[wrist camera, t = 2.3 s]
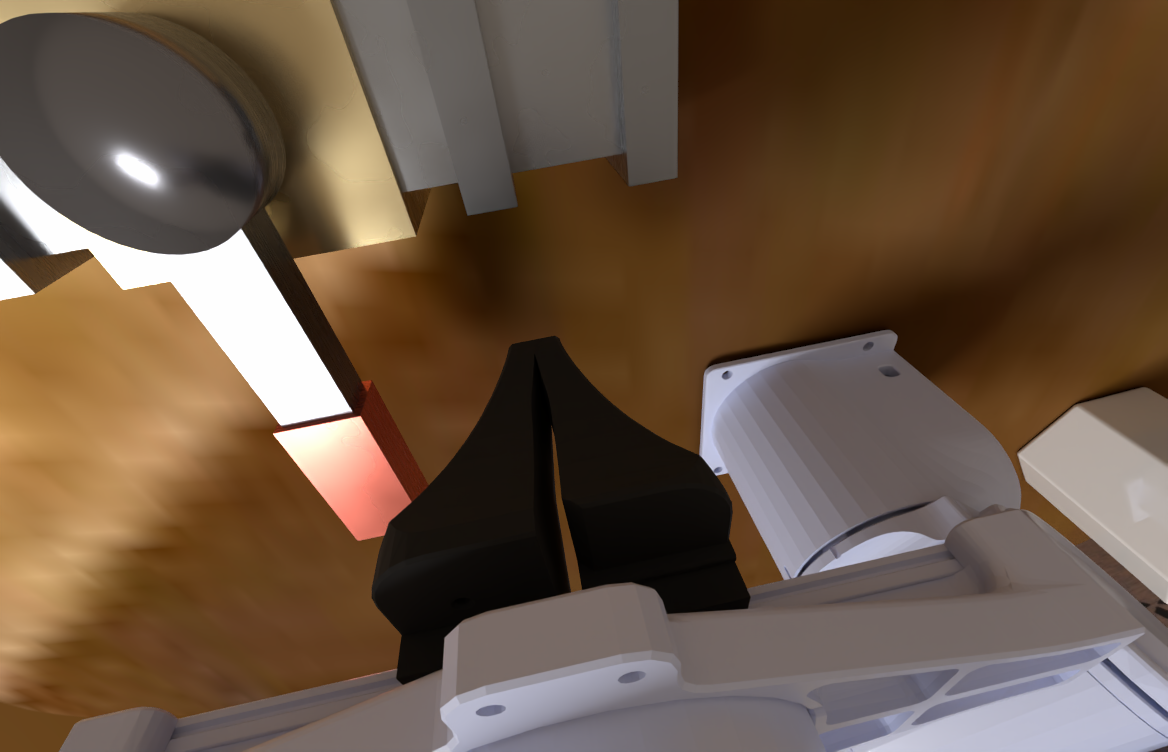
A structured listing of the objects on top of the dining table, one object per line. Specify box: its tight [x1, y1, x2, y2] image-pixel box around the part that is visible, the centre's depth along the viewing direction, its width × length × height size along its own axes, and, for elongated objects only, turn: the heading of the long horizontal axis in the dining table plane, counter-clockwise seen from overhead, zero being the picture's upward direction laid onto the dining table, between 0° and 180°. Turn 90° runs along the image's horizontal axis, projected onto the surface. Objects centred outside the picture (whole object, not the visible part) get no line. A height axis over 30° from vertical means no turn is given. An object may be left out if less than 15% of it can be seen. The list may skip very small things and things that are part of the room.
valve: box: [0, 0, 678, 300], centre depth 11 cm, size 20×6×5 cm, turn 97°
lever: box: [0, 12, 429, 541], centre depth 11 cm, size 13×4×2 cm, turn 7°
